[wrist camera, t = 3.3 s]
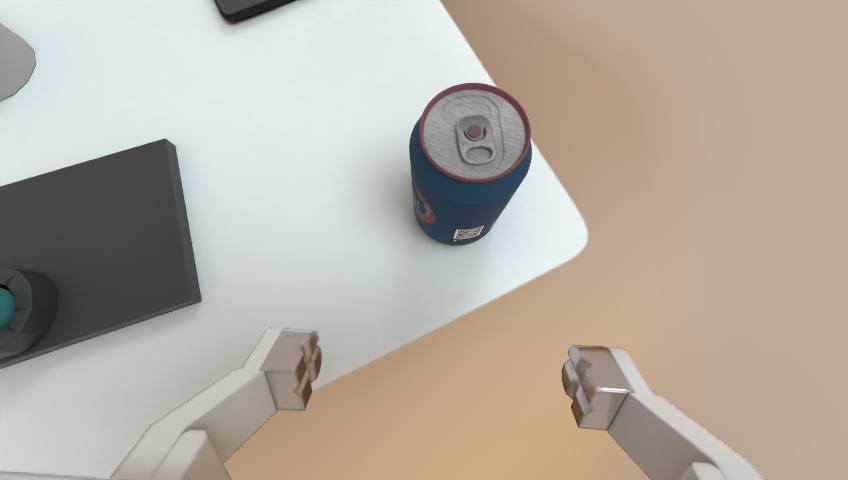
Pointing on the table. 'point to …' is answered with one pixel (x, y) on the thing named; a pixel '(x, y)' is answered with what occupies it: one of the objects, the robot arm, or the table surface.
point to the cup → (14, 62)
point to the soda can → (467, 161)
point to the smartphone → (244, 7)
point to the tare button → (5, 307)
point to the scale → (94, 250)
